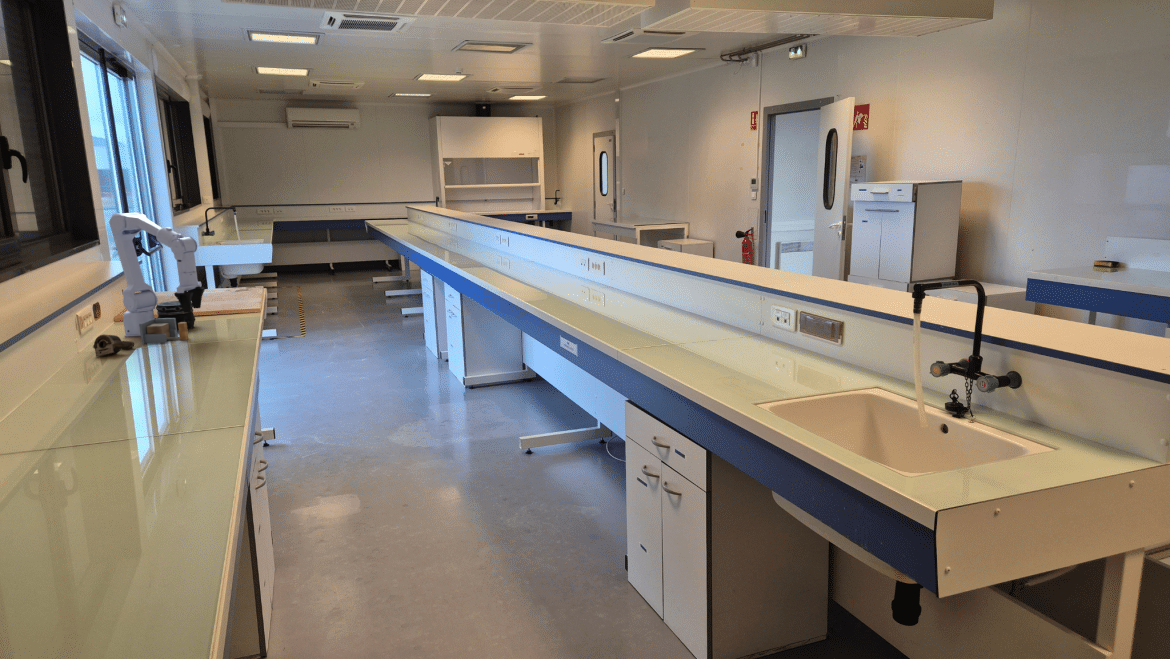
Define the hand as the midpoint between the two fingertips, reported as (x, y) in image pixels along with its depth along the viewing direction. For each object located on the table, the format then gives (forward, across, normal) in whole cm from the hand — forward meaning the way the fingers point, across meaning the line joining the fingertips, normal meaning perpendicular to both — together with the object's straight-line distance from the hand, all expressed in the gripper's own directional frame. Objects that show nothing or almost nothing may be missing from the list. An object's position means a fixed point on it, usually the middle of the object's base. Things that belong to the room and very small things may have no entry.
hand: (192, 310), depth 260 cm
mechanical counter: (+10, -21, +16) cm, 28 cm away
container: (+10, +18, +15) cm, 26 cm away
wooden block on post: (+10, -3, +7) cm, 13 cm away
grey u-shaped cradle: (+10, -3, +11) cm, 15 cm away
